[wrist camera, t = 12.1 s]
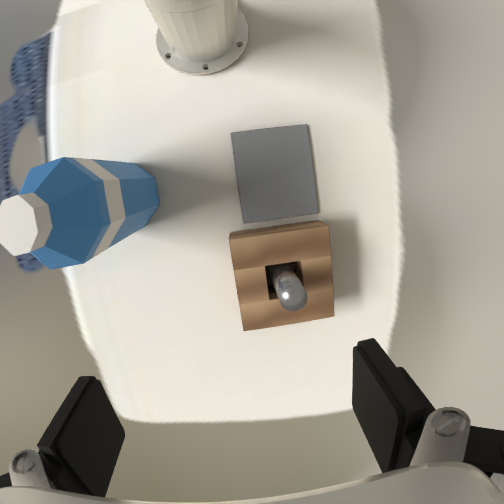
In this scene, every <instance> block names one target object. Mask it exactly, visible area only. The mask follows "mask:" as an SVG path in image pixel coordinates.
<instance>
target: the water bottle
mask: <svg viewBox="0 0 504 504" xmlns="http://www.w3.org/2000/svg"><path fill="white" fill-rule="evenodd" d="M159 204H160V203H159V197H158V191H157V185H156V179H155V177H153V176H152V175H151V174H149V173H148V172H146V171H145V170H143V169H142V168H141V167H139V166H138V165H136V164H135V163H126V162H116V161H105V160H94V159H82V158H68V157H63V158H60V159H57V160H54V161H51V162H48V163H45V164H42V165H40V166H37V167H34V168H32V169H30V171H29V173H28V175H27V177H26V179H25V182H24V184H23V186H22V188H21V190H20V193H19V195H17V196H14V197H11V198H8V199H6V200H3V201H2V204H1V206H0V243H1V244H2V245H3V246H4V247H5V248H6V249H7V250H8V251H9V252H10V253H11V254H12V255H13V256H16V255H20V254H25V253H29V252H30V253H31V254H32V255H34V256H35V257H36V258H37V259H38V260H39V261H41V262H42V263H43V264H44V265H45V266H46V267H48V268H49V269H55V268H61V267H67V266H72V265H78V264H83V263H85V262H87V261H88V260H90V259H91V258H93V257H95V256H96V255H98V254H99V253H101V252H103V251H104V250H106V249H108V248H109V247H111V246H113V245H114V244H116V243H117V242H119V241H121V240H122V239H124V238H126V237H128V236H129V235H131V234H133V233H134V232H136V231H138V230H139V229H141V228H143V227H145V226H146V225H147V223H148V221H149V220H150V218H151V217H152V215H153V214H154V212H155V211H156V209H157V208H158V206H159Z"/></svg>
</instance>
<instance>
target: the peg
mask: <svg viewBox="0 0 504 504" xmlns="http://www.w3.org/2000/svg"><path fill="white" fill-rule="evenodd" d="M269 272H270V275H271V278H272V281H273V284H274V287H275V289H276V292H277V295H278V298H279V301H280V304H281V306H282V307H283V308H284V309H286V310H288V311H297V310H300V309H301V308H303V307H304V306H305V304H306V302H307V299H308V296H307V292H306V290H305V289H304V287H303V285H302V284H301V282H300V280H299V279H298V277H297V275H296V274H295V272H294V270H293V269H292V267H291V266H290V264H289V262H288V263H281V264H274V265H270V267H269Z"/></svg>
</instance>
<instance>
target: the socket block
mask: <svg viewBox="0 0 504 504" xmlns="http://www.w3.org/2000/svg"><path fill="white" fill-rule="evenodd" d="M229 244H230V250H231V257H232V263H233V269H234V275H235V282H236V288H237V294H238V300H239V306H240V312H241V318H242V324H243V330H244V331H249V330H256V329H262V328H269V327H275V326H282V325H288V324H294V323H300V322H306V321H311V320H317V319H322V318H328V317H333V316H334V296H333V280H332V265H331V252H330V240H329V228H328V226H327V225H326V224H324V223H322V222H320V221H318V220H317V221H309V222H302V223H295V224H288V225H280V226H273V227H266V228H259V229H252V230H245V231H239V232H232V233H230V234H229ZM294 261H295V263H296V273H297V277H298V279H299V280H300V282H301V284H302V285H303V287H304V289H305V290H306V292H307V296H308V299H307V302H306V304H305V306H304V307H303V308H301V309H300V310H297V311H288V310H286V309H284V308H283V307H282V306H281V304H280V301H279V298H278V295H277V292H276V289H275V287H274V286H270V287H267V280H266V272H265V266H268V265H274V264H281V263H288V262H294Z"/></svg>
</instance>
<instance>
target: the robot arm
mask: <svg viewBox="0 0 504 504" xmlns="http://www.w3.org/2000/svg"><path fill="white" fill-rule="evenodd" d="M144 1H145V3H146V5H147V7H148V9H149V10H150V12H151V14H152V16H153V18H154V20H155V22H156V23H157V25H158V30H157V34H156V45H157V49H158V52H159V54H160V56H161V57H162V59H163V60H164V61H165V62H166V63H167V64H168V65H169V66H170V67H172V68H173V69H175V70H177V71H179V72H182V73H186V74H191V75H204V74H211V73H214V72H218V71H220V70H222V69H224V68H226V67H228V66H229V65H231V64H232V63H234V62H235V61H236V60H237V59H238V58H239V57H240V55H241V54H242V53H243V51H244V49H245V47H246V45H247V41H248V34H249V29H248V24H247V21H246V19H245V17H244V15H243V14H242V13H241V11H240V10H238V9H237V4H238V0H144ZM239 45H240V46H241V47H238V46H239ZM168 57H171V58H169V59H168ZM205 68H208V69H207V70H205ZM352 406H353V410H354V412H355V414H356V417H357V419H358V421H359V423H360V425H361V427H362V429H363V432H364V434H365V436H366V438H367V440H368V443H369V445H370V447H371V449H372V451H373V453H374V456H375V458H376V460H377V462H378V464H379V467H380V469H381V471H382V474H378V475H374V476H370V477H367V478H363V479H359V480H355V481H351V482H348V483H343V484H339V485H334V486H330V487H325V488H320V489H315V490H310V491H305V492H300V493H294V494H288V495H281V496H274V497H268V498H258V499H249V500H237V501H223V502H200V503H199V502H198V503H173V502H172V503H171V502H147V501H133V500H122V499H113V498H105V496H106V493H107V490H108V486H109V483H110V480H111V477H112V474H113V471H114V468H115V465H116V462H117V459H118V456H119V453H120V450H121V447H122V444H123V441H124V438H125V431H124V429H123V427H122V425H121V423H120V421H119V419H118V417H117V415H116V413H115V411H114V409H113V407H112V405H111V403H110V401H109V399H108V397H107V395H106V393H105V390H104V389H103V386H102V384H101V382H100V381H99V380H97V379H96V378H95V377H94V376H81V377H79V378H78V380H77V381H76V383H75V384H74V386H73V387H72V389H71V391H70V392H69V394H68V395H67V397H66V399H65V400H64V402H63V403H62V405H61V406H60V408H59V410H58V411H57V413H56V414H55V416H54V418H53V419H52V421H51V423H50V424H49V426H48V427H47V429H46V431H45V432H44V434H43V436H42V438H41V439H40V441H39V443H38V444H37V446H38V448H39V449H40V450H39V452H38V453H37V452H36V451H35V450H31V449H25V450H21V451H20V452H18V453H16V454H15V455H14V456H13V457H12V458H11V460H10V462H9V473H7V474H4V475H2V476H0V504H504V431H501V430H495V429H488V428H481V427H476V426H470V419H469V417H468V415H467V414H466V413H465V412H464V411H462V410H460V409H458V408H454V407H444V408H439V409H437V410H436V409H435V408H434V407H433V406H432V404H431V403H430V402H429V400H428V399H427V398H426V396H425V395H424V394H423V392H422V391H421V390H420V389H419V387H418V386H417V385H416V383H415V382H414V381H413V379H412V378H411V377H410V376H409V374H408V373H407V372H406V370H405V369H404V368H403V367H396V366H395V365H394V363H393V362H392V361H391V360H390V358H389V357H388V355H387V354H386V353H385V352H384V350H383V349H382V348H381V346H380V345H379V344H378V342H377V341H376V340H375V339H374V338H371V339H367V340H363V341H359V342H358V344H357V346H355V347H353V388H352Z"/></svg>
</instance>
